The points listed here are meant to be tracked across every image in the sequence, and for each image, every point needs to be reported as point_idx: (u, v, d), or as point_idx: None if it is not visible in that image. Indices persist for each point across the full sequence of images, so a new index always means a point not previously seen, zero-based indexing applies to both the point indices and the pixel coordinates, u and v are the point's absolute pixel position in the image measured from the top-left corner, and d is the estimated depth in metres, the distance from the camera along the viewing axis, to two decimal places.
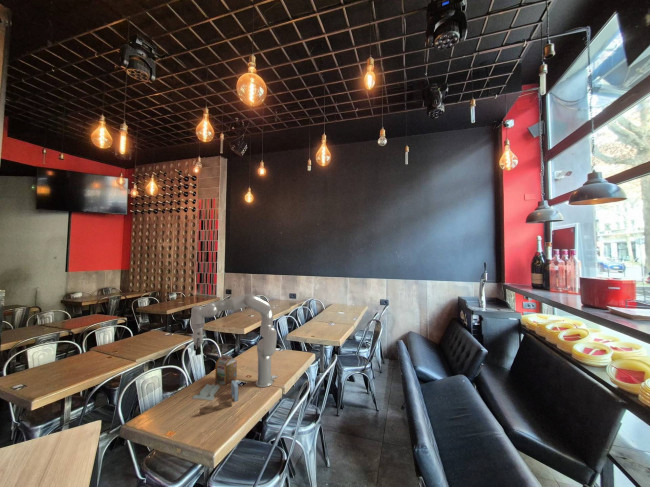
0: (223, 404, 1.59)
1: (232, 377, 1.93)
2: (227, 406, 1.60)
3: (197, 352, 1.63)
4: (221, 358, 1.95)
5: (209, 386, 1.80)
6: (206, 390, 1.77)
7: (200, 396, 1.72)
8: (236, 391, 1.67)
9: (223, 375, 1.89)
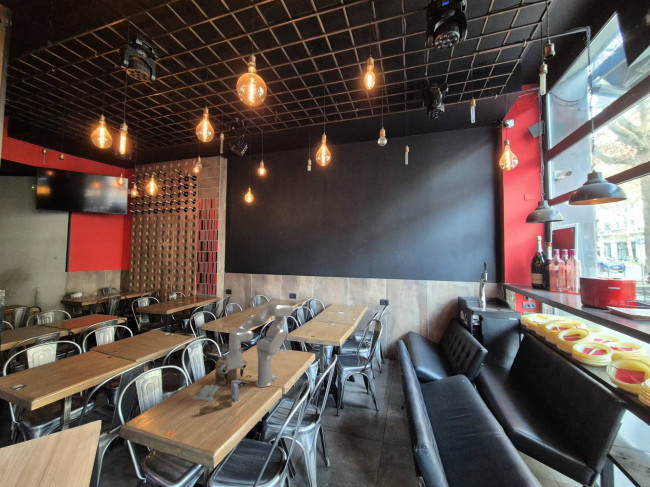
0: (223, 404, 1.59)
1: (232, 377, 1.93)
2: (227, 406, 1.60)
3: None
4: (221, 358, 1.95)
5: (208, 387, 1.80)
6: (205, 391, 1.76)
7: (199, 397, 1.71)
8: (236, 391, 1.67)
9: (223, 375, 1.89)
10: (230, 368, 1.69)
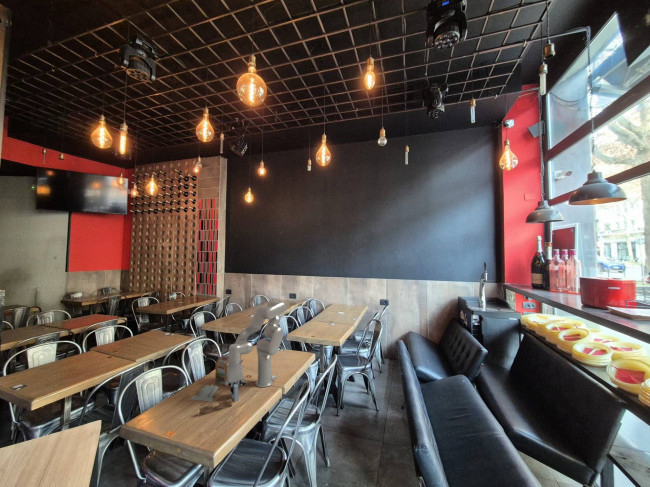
0: (223, 404, 1.59)
1: None
2: (227, 406, 1.60)
3: (238, 388, 1.72)
4: (221, 358, 1.95)
5: (208, 387, 1.79)
6: (205, 391, 1.76)
7: (198, 397, 1.71)
8: (236, 391, 1.67)
9: (223, 375, 1.89)
10: (231, 381, 1.69)
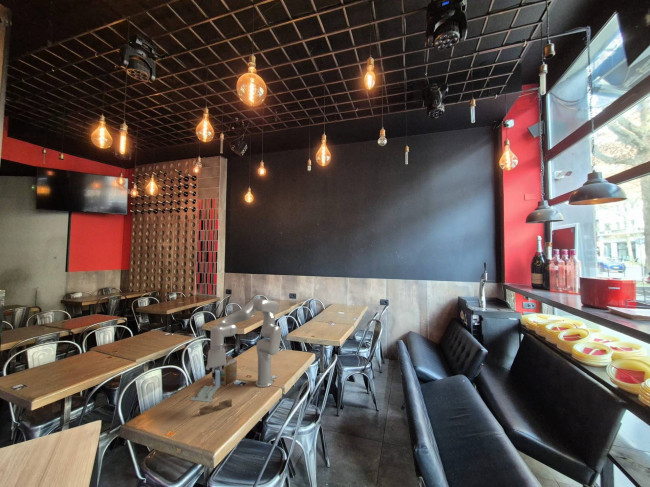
0: (223, 404, 1.59)
1: (232, 377, 1.93)
2: (227, 406, 1.60)
3: (220, 374, 1.59)
4: None
5: (207, 388, 1.78)
6: (204, 392, 1.75)
7: (198, 398, 1.70)
8: (217, 377, 1.54)
9: (223, 375, 1.89)
10: (212, 366, 1.55)
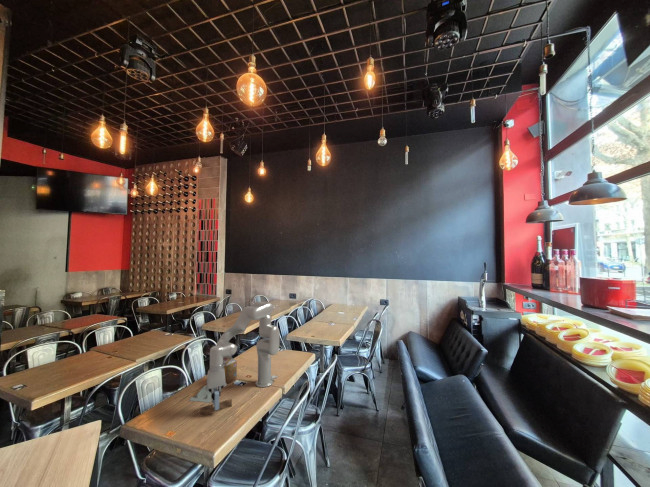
0: (223, 404, 1.59)
1: (232, 377, 1.93)
2: (227, 406, 1.60)
3: None
4: None
5: None
6: (203, 392, 1.74)
7: (197, 398, 1.69)
8: (217, 399, 1.53)
9: None
10: (211, 387, 1.54)
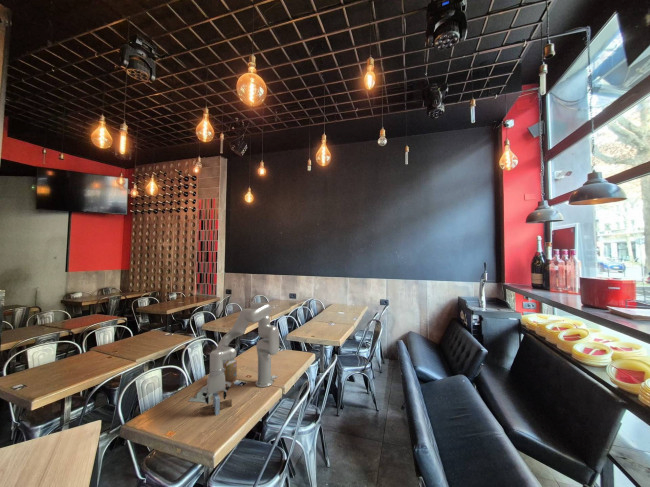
0: (223, 404, 1.59)
1: (232, 377, 1.93)
2: (227, 406, 1.60)
3: (226, 395, 1.60)
4: None
5: None
6: None
7: (196, 399, 1.69)
8: (217, 404, 1.53)
9: None
10: (211, 391, 1.54)
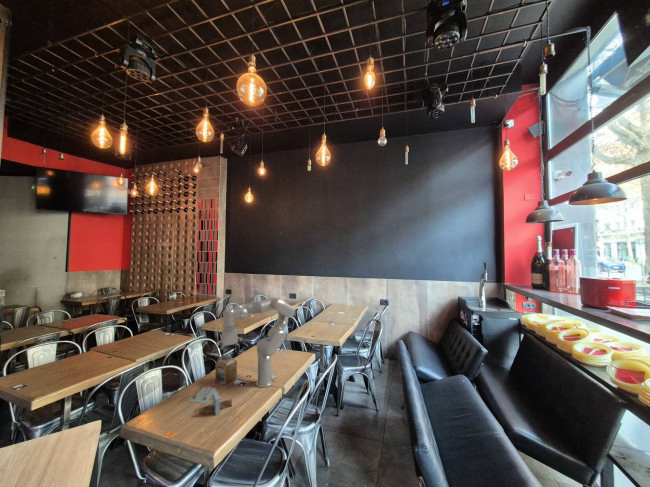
0: (223, 404, 1.59)
1: (232, 377, 1.93)
2: (227, 406, 1.60)
3: (238, 348, 1.79)
4: (221, 358, 1.95)
5: (205, 389, 1.76)
6: (202, 393, 1.73)
7: (196, 399, 1.68)
8: (217, 404, 1.53)
9: (223, 375, 1.89)
10: (226, 344, 1.73)
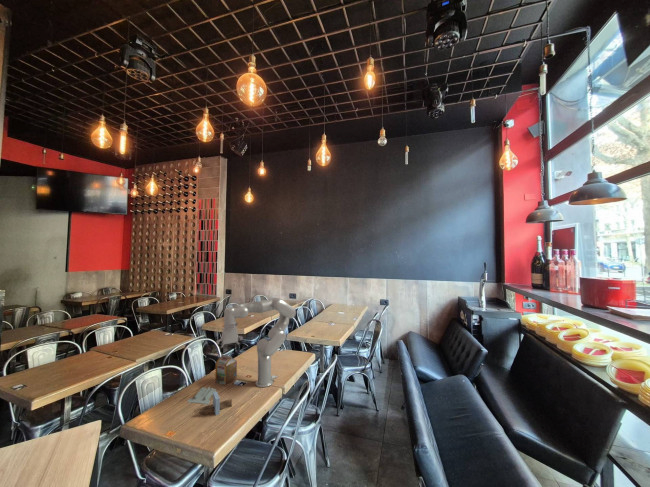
0: (223, 404, 1.59)
1: (232, 377, 1.93)
2: (227, 406, 1.60)
3: (238, 347, 1.80)
4: (221, 358, 1.95)
5: (204, 389, 1.76)
6: (201, 394, 1.72)
7: (195, 400, 1.67)
8: (217, 404, 1.53)
9: (223, 375, 1.89)
10: (226, 342, 1.74)
